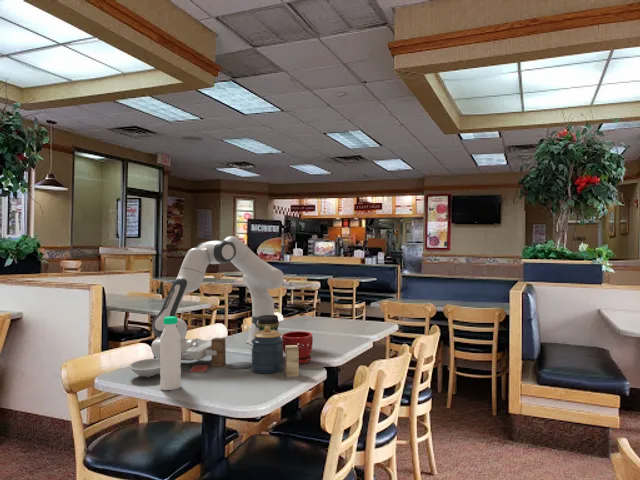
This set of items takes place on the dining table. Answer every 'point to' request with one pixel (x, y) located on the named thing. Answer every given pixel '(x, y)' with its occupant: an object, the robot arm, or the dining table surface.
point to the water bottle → (170, 355)
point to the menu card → (199, 368)
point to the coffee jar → (268, 322)
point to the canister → (267, 351)
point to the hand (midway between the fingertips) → (220, 350)
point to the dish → (146, 367)
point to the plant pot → (303, 339)
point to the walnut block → (221, 348)
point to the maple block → (292, 360)
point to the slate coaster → (240, 365)
